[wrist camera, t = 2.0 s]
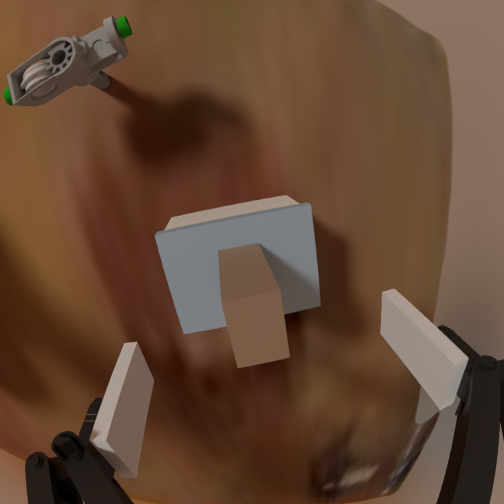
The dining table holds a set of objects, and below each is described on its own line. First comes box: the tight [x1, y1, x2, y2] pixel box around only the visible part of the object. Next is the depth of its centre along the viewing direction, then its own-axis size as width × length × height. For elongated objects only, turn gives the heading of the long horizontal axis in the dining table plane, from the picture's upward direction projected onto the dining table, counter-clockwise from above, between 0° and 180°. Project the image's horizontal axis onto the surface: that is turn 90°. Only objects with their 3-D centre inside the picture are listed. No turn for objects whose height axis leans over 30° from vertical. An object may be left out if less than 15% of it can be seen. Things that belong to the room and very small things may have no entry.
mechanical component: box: [3, 16, 132, 106], centre depth 19 cm, size 3×10×10 cm, turn 109°
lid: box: [155, 203, 321, 368], centre depth 21 cm, size 12×9×10 cm
